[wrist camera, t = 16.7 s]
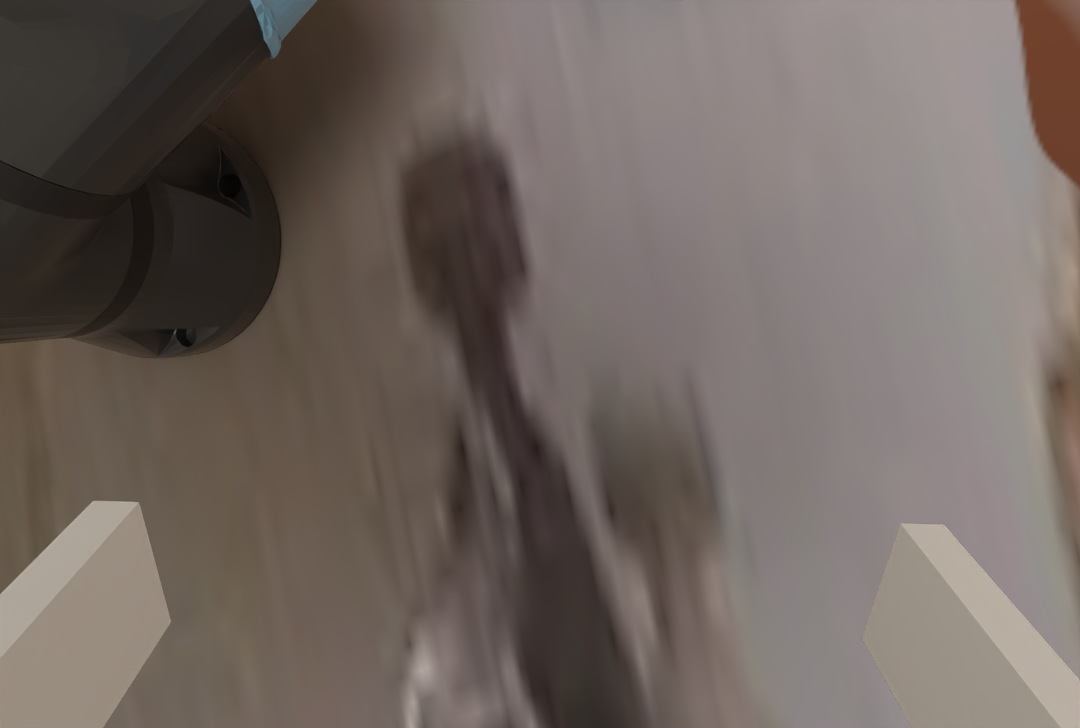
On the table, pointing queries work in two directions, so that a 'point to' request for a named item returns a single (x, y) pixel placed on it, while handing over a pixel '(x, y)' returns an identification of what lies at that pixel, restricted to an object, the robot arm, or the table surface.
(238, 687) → the table surface
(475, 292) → the table surface
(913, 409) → the table surface
